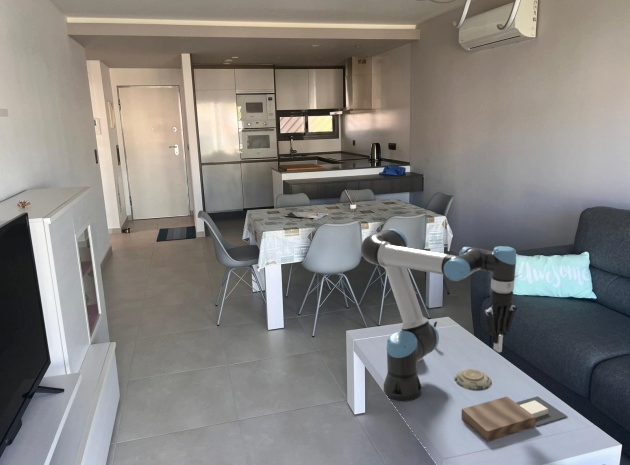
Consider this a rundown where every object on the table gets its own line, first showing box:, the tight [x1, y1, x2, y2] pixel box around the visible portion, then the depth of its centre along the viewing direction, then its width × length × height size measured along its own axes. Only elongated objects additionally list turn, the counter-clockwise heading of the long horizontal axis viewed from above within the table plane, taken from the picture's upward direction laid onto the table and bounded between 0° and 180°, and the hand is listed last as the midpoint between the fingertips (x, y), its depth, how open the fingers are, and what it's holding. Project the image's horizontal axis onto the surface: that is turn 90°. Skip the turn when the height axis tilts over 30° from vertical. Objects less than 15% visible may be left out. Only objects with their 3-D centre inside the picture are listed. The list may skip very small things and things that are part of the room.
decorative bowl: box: [453, 368, 493, 391], centre depth 197 cm, size 15×4×15 cm
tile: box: [520, 400, 548, 418], centre depth 174 cm, size 9×6×2 cm, turn 111°
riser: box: [461, 396, 536, 443], centre depth 169 cm, size 20×14×4 cm
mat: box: [516, 395, 568, 427], centre depth 175 cm, size 14×14×1 cm
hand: (497, 350), depth 175 cm, fingers closed
